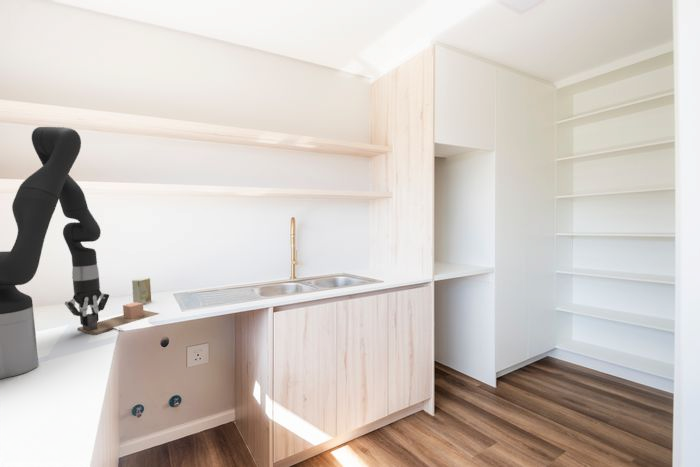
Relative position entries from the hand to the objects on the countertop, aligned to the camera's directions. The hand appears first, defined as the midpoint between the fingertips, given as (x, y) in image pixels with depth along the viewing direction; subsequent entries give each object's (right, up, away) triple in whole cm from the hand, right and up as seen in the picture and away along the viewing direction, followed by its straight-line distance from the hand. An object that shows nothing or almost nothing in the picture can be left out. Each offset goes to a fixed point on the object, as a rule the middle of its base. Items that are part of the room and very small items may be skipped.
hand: (90, 324), depth 126 cm
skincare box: (0, 0, +33) cm, 33 cm away
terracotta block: (+7, 0, +14) cm, 16 cm away
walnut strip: (+5, -2, +9) cm, 11 cm away
